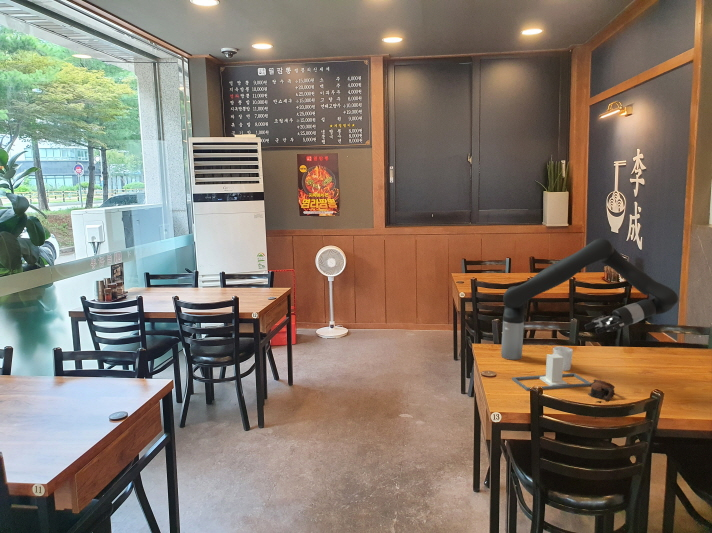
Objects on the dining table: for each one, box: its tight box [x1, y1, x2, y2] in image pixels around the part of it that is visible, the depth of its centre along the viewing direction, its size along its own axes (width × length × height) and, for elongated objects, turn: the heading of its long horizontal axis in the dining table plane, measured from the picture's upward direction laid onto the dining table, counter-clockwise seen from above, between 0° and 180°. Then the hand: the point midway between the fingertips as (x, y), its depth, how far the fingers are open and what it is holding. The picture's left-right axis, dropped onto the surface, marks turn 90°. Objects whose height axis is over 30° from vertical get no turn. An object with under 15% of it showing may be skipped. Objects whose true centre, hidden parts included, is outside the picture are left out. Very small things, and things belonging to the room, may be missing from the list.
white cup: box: [552, 346, 574, 372], centre depth 229 cm, size 8×8×10 cm
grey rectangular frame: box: [511, 372, 592, 392], centre depth 212 cm, size 12×28×2 cm, turn 101°
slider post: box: [539, 353, 569, 386], centre depth 211 cm, size 9×7×11 cm
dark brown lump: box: [587, 378, 615, 404], centre depth 198 cm, size 12×10×8 cm
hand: (590, 329), depth 210 cm, fingers open, 8 cm apart
